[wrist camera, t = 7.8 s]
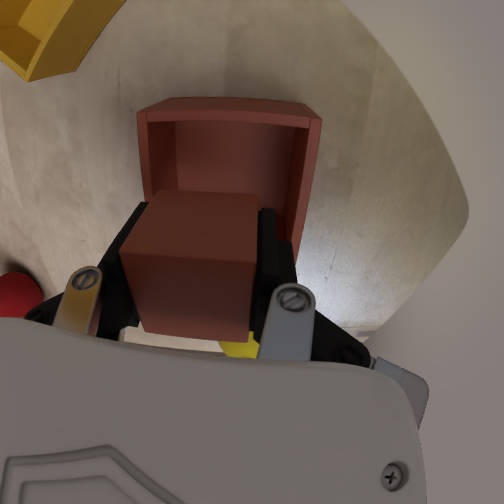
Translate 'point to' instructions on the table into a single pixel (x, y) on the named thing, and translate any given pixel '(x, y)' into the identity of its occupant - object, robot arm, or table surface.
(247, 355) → the lemon
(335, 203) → the table surface
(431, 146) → the table surface
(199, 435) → the robot arm
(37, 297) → the apple
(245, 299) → the clay block
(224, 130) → the clay bin
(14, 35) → the yellow bin
